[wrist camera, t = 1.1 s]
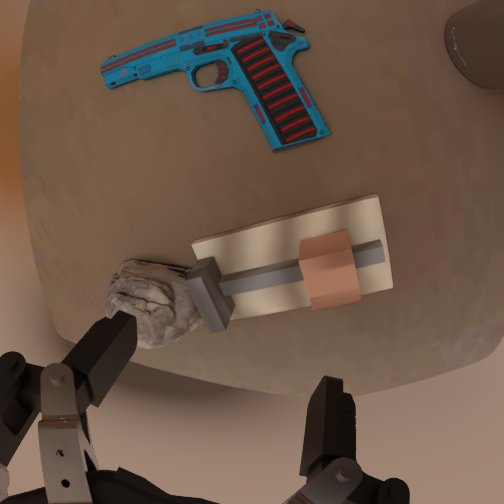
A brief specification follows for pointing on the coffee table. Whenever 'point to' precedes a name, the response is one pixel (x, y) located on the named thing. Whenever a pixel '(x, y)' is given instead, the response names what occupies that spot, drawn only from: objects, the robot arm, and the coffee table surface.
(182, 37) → the handgun
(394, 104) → the coffee table surface
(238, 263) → the rail board
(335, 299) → the slider block
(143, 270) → the rock
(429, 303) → the coffee table surface
